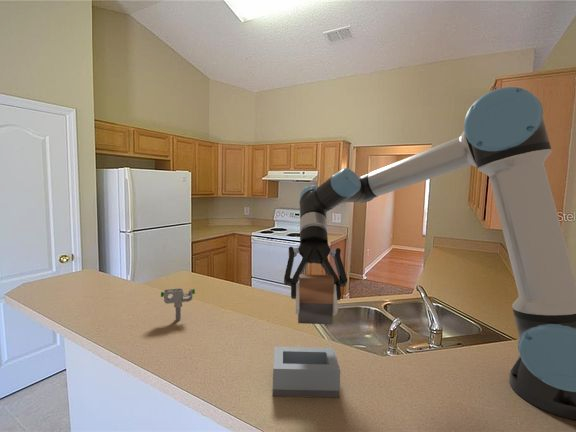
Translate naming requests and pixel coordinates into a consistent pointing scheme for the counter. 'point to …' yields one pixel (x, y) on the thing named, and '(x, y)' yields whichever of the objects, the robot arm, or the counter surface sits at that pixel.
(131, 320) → the counter surface
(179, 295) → the mechanical component
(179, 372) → the counter surface
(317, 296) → the brown wood block
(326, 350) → the frame block
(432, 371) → the counter surface
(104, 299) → the counter surface
